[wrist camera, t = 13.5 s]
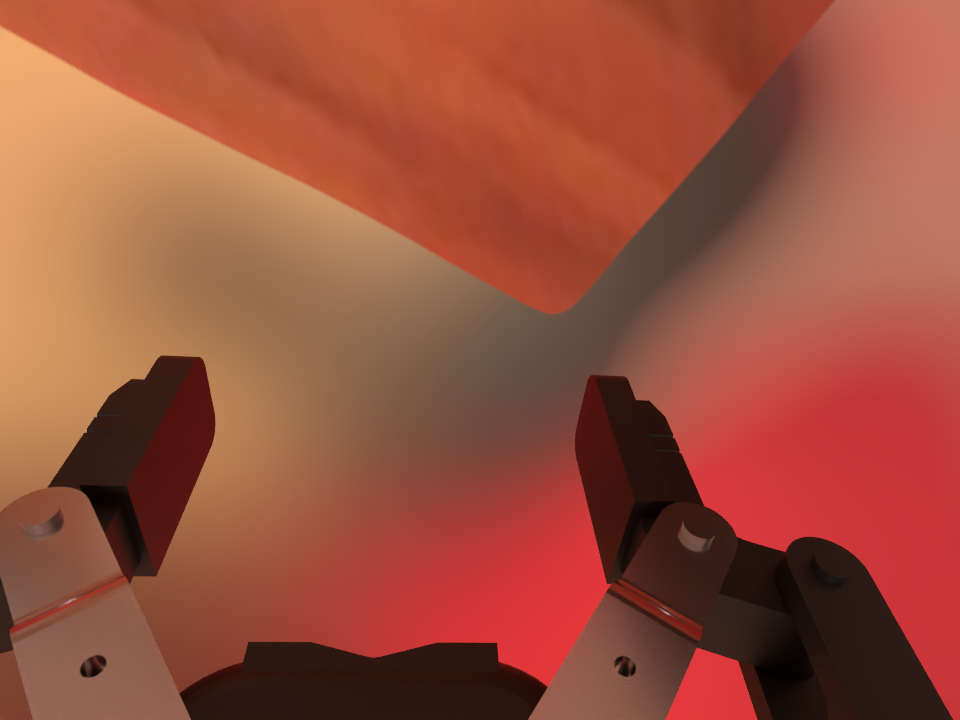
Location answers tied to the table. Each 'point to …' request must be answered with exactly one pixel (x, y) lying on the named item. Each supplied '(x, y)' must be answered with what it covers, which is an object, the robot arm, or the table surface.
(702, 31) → the table surface
